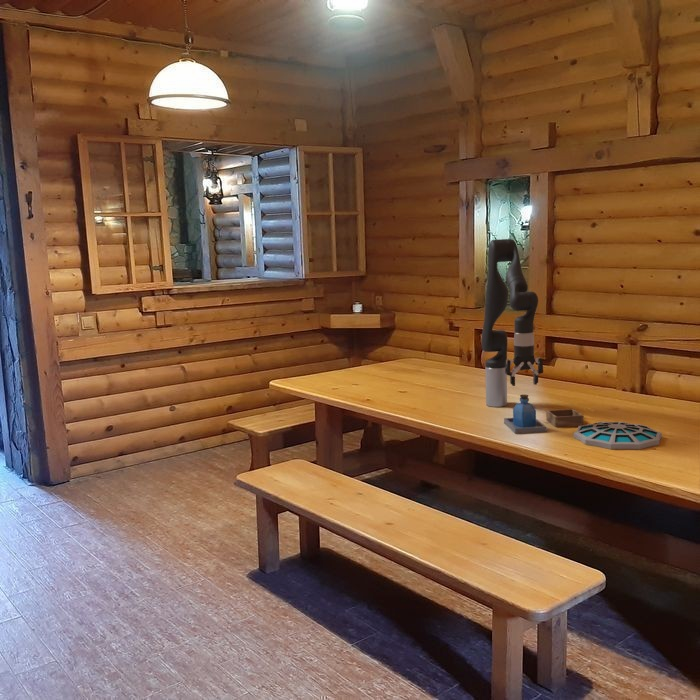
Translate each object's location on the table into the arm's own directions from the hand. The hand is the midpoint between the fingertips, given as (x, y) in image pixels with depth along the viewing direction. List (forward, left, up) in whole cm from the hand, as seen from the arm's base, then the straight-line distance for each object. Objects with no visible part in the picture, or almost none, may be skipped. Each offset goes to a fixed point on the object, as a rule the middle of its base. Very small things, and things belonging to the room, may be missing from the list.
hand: (524, 384), depth 282 cm
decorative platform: (+21, +28, -18) cm, 39 cm away
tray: (0, 0, -17) cm, 17 cm away
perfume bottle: (0, 0, -16) cm, 16 cm away
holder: (-3, +17, -17) cm, 24 cm away
